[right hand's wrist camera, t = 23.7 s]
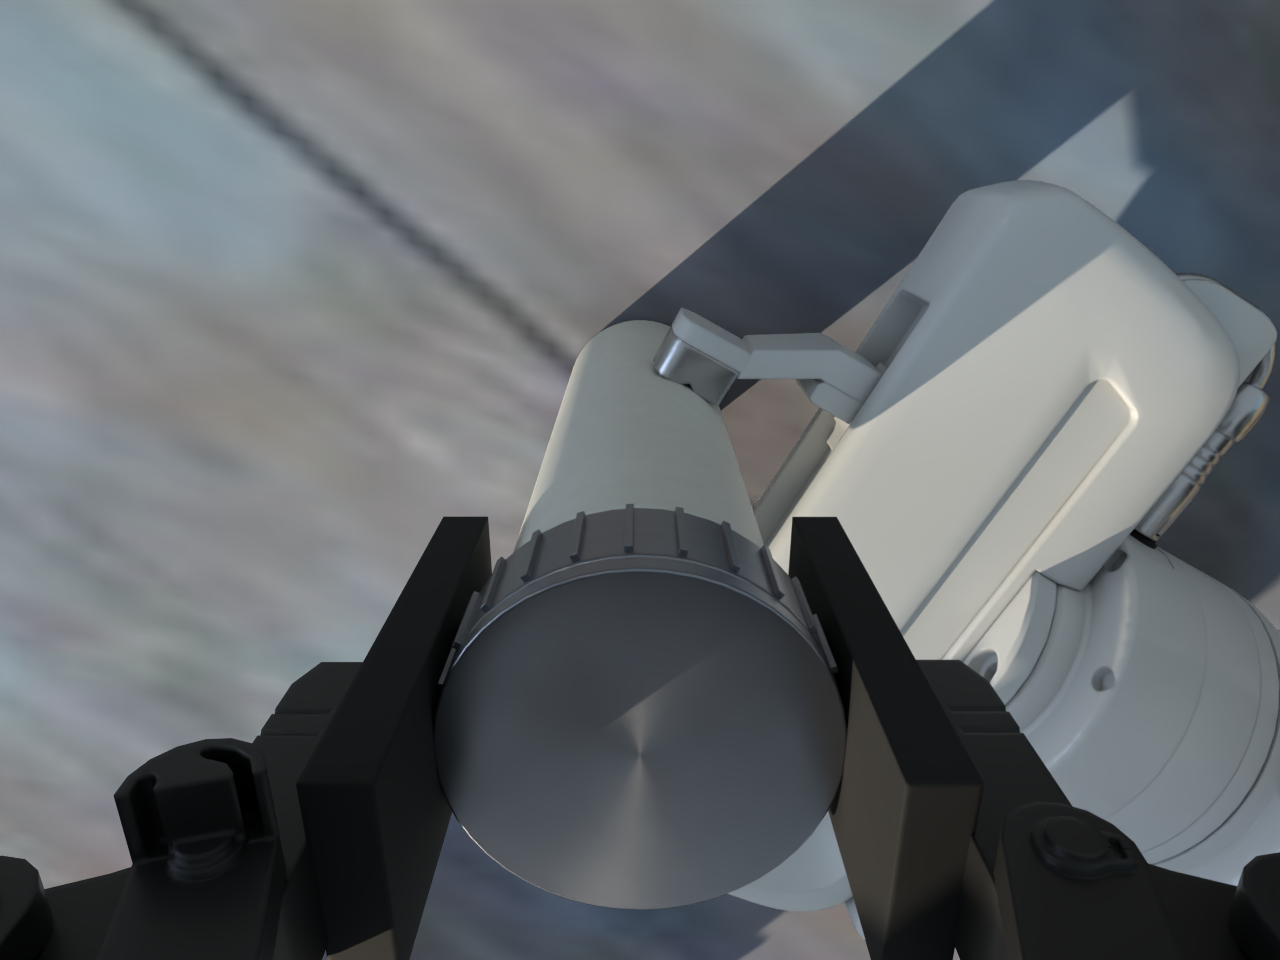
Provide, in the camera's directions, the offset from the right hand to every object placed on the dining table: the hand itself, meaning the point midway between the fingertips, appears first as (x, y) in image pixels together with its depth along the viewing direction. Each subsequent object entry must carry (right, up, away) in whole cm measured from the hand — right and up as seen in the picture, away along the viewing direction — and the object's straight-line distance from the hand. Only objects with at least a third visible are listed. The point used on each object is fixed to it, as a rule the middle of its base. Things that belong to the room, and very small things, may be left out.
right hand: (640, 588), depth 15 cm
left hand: (-1, +3, +7) cm, 7 cm away
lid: (0, -1, -4) cm, 4 cm away
